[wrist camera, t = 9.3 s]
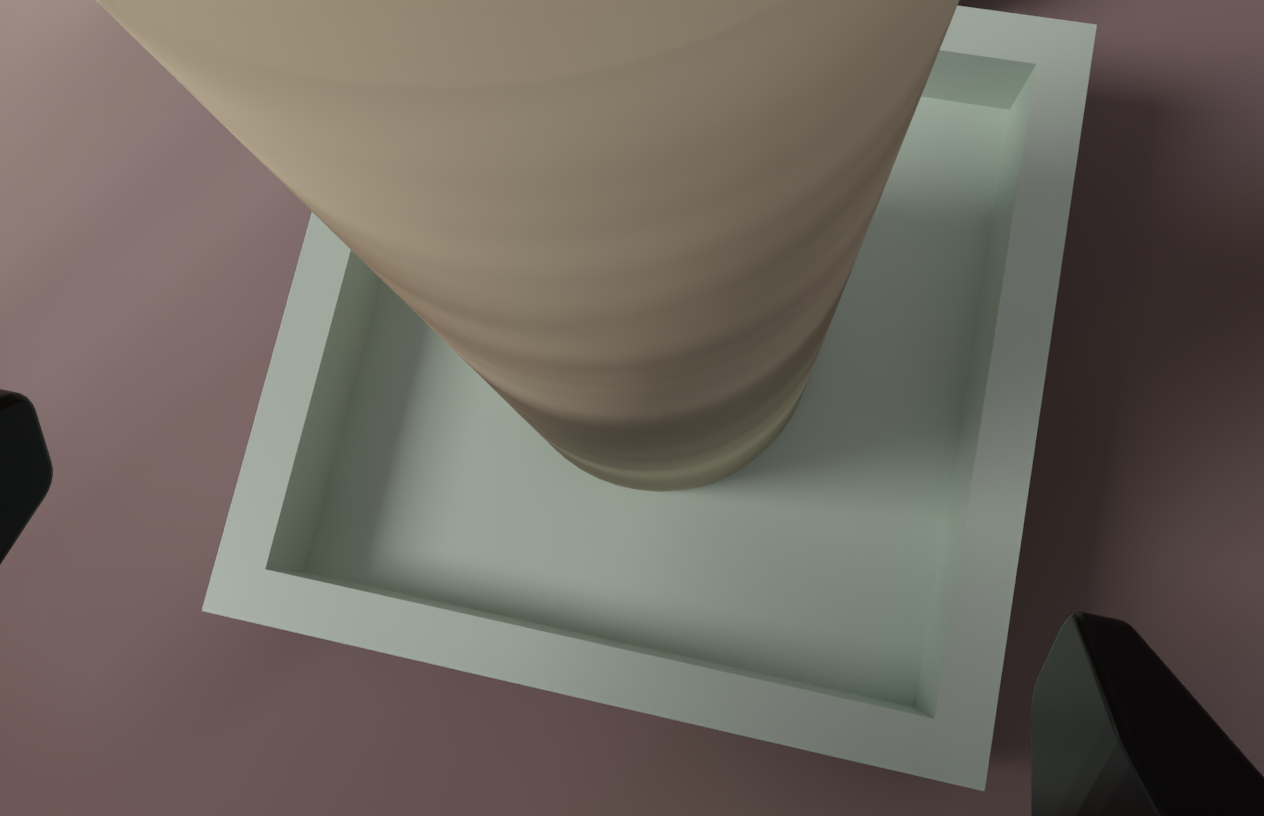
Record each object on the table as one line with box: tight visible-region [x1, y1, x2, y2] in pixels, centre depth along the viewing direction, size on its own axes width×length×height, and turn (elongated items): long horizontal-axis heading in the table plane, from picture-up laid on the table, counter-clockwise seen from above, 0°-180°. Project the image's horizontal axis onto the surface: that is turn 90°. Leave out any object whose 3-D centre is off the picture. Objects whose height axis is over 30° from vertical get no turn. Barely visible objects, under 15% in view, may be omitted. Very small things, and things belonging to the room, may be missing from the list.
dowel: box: [96, 0, 959, 491], centre depth 11 cm, size 5×5×13 cm
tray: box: [202, 6, 1097, 791], centre depth 17 cm, size 12×12×2 cm
